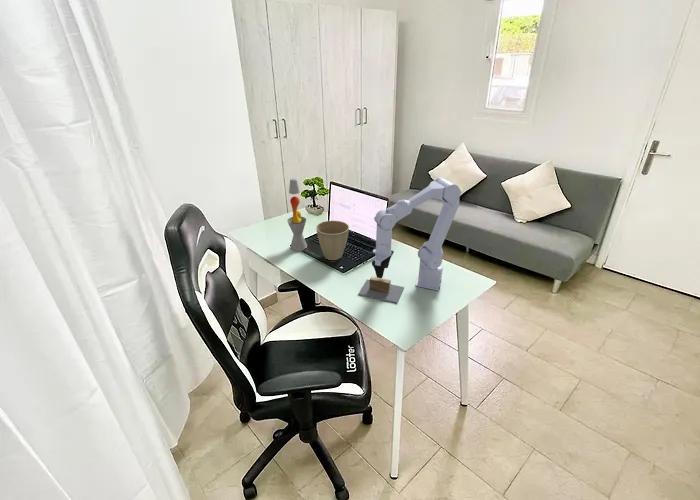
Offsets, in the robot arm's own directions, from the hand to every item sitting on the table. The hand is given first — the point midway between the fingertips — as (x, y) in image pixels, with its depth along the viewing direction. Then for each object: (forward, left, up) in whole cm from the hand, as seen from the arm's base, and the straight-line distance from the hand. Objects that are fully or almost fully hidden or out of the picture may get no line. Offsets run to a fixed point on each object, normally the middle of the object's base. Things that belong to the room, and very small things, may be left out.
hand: (382, 272), depth 140 cm
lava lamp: (+49, -21, -9) cm, 54 cm away
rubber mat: (0, 0, -9) cm, 9 cm away
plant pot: (+29, -18, -9) cm, 36 cm away
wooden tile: (+1, 0, -8) cm, 9 cm away
